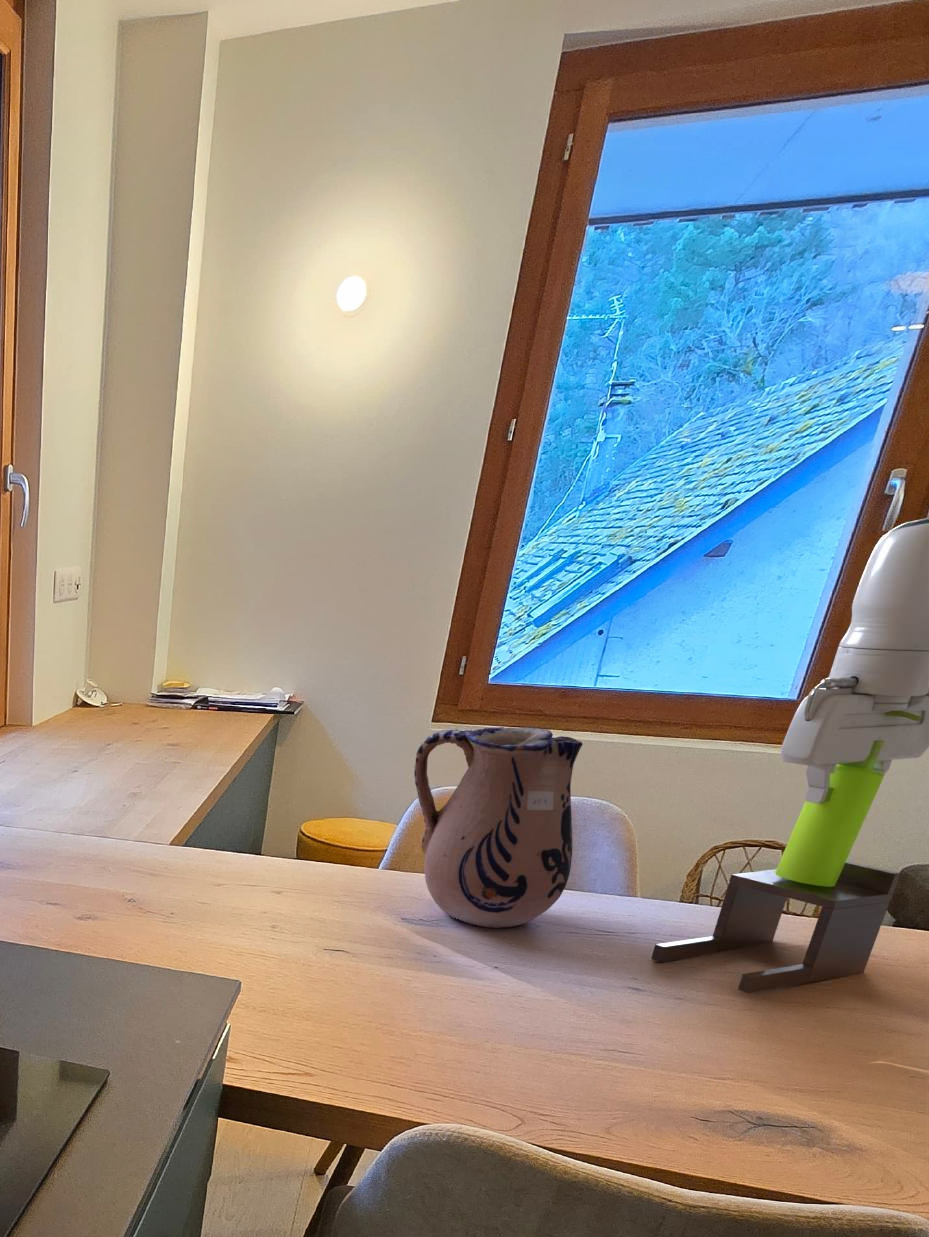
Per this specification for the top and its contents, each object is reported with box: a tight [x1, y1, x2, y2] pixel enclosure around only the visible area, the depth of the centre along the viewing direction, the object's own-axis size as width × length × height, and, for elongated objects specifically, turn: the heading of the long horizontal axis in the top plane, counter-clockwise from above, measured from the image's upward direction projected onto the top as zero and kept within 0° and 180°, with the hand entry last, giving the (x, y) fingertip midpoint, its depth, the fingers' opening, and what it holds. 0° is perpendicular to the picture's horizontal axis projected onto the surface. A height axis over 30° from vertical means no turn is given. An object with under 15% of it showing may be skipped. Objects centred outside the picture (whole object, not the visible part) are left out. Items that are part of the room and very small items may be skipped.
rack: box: [650, 860, 901, 994], centre depth 124 cm, size 12×20×12 cm, turn 110°
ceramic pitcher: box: [414, 726, 583, 929], centre depth 138 cm, size 18×21×25 cm
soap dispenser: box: [775, 710, 923, 887], centre depth 119 cm, size 6×7×20 cm
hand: (837, 800), depth 120 cm, fingers closed on soap dispenser, 6 cm apart
